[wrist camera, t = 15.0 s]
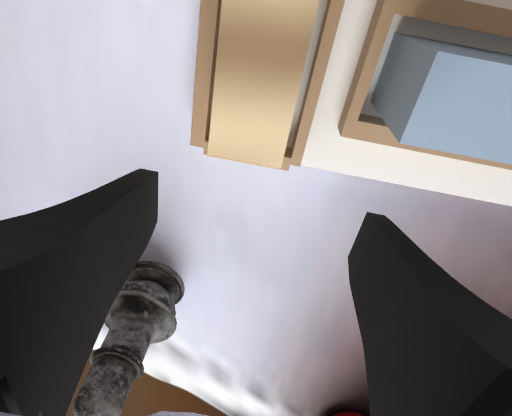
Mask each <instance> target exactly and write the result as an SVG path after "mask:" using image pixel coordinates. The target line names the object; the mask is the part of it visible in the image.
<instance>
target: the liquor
mask: <svg viewBox="0 0 512 416" xmlns="http://www.w3.org/2000/svg"><path fill="white" fill-rule="evenodd" d="M332 416H365V415H363V414H360V413H357V412H351V411H345V412H339V413H336V414H334V415H332Z"/></svg>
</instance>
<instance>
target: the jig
mask: <svg viewBox="0 0 512 416" xmlns="http://www.w3.org/2000/svg"><path fill="white" fill-rule="evenodd" d="M221 4H222V0H201V4H200V18H199V31H198V45H197V59H196V73H195V87H194V101H193V114H192V128H191V142H190V145H192V146H197V147H202V148H204V154H205V155H207V154H208V143H209V133H210V122H211V111H212V100H213V90H214V79H215V68H216V58H217V47H218V36H219V26H220V15H221ZM394 32H397V33H403V34H408V35H413V36H418V37H423V38H428V39H433V40H438V41H444V42H449V43H454V44H459V45H464V46H469V47H474V48H479V49H485V50H490V51H495V52H500V53H505V54H510V55H512V0H319V4H318V9H317V13H316V17H315V22H314V26H313V31H312V35H311V39H310V44H309V48H308V53H307V57H306V61H305V66H304V70H303V75H302V79H301V83H300V88H299V92H298V97H297V101H296V105H295V110H294V114H293V119H292V123H291V127H290V132H289V136H288V141H287V145H286V150H285V154H284V158H283V163H282V167H281V169H282V170H289V166H290V165H295V166H300V165H302V166H307V167H313V168H318V169H323V170H328V171H333V172H338V173H343V174H349V175H354V176H359V177H364V178H369V179H374V180H379V181H385V182H390V183H395V184H400V185H405V186H410V187H415V188H420V189H426V190H431V191H436V192H441V193H446V194H451V195H456V196H462V197H467V198H472V199H477V200H482V201H487V202H492V203H498V204H503V205H508V206H512V165H511V164H506V163H501V162H495V161H490V160H485V159H479V158H474V157H469V156H463V155H458V154H453V153H448V152H442V151H437V150H432V149H426V148H421V147H416V146H411V145H405V144H400V143H399V142H398V141H397V139H396V138H395V136H394V135H393V134H392V132H391V131H390V129H389V128H388V126H387V125H386V123H385V122H384V121H383V119H382V118H381V116H380V115H379V113H378V112H377V110H376V109H375V108H374V106H373V105H372V103H371V99H372V96H373V93H374V90H375V87H376V84H377V82H378V79H379V76H380V73H381V70H382V67H383V64H384V61H385V58H386V56H387V53H388V50H389V47H390V44H391V41H392V38H393V35H394Z"/></svg>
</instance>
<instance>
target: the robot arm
mask: <svg viewBox="0 0 512 416" xmlns="http://www.w3.org/2000/svg"><path fill="white" fill-rule="evenodd" d="M157 215H158V172H156V171H150V170H145V169H138V170H135V171H133V172H131V173H129V174H127V175H125V176H122V177H120V178H118V179H116V180H114V181H112V182H110V183H108V184H106V185H103V186H101V187H99V188H97V189H95V190H93V191H90V192H88V193H85V194H83V195H81V196H78V197H76V198H73V199H71V200H68V201H66V202H63V203H61V204H58V205H55V206H52V207H49V208H46V209H42V210H39V211H36V212H33V213H29V214H26V215H22V216H17V217H13V218H9V219H5V220H1V221H0V416H65V415H66V413H67V410H68V407H69V404H70V402H71V399H72V397H73V394H74V392H75V390H76V387H77V384H78V382H79V380H80V377H81V375H82V372H83V370H84V367H85V365H86V362H87V360H88V358H89V356H90V353H91V351H92V349H93V346H94V344H95V342H96V339H97V337H98V335H99V332H100V330H101V328H102V326H103V324H104V322H105V319H106V317H107V315H108V313H109V311H110V308H111V306H112V304H113V303H114V301H115V299H116V297H117V295H118V293H119V292H120V290H121V288H122V287H123V285H124V283H125V282H126V280H127V279H128V277H129V275H130V274H131V272H132V270H133V269H134V267H135V265H136V264H137V262H138V260H139V258H140V257H141V255H142V253H143V252H144V250H145V248H146V247H147V245H148V243H149V240H150V238H151V236H152V233H153V231H154V228H155V226H156V223H157ZM348 266H349V280H350V286H351V291H352V296H353V301H354V305H355V310H356V314H357V319H358V323H359V328H360V332H361V337H362V342H363V348H364V354H365V363H366V373H367V383H368V395H369V407H370V416H512V319H510V318H509V317H507V316H506V315H504V314H503V313H501V312H499V311H498V310H496V309H495V308H493V307H492V306H490V305H489V304H487V303H486V302H484V301H483V300H482V299H480V298H479V297H477V296H476V295H475V294H473V293H472V292H471V291H469V290H468V289H467V288H465V287H464V286H463V285H461V284H460V283H459V282H458V281H456V280H455V279H454V278H453V277H451V276H450V275H449V274H448V273H447V272H445V271H444V270H443V269H442V268H441V267H440V266H438V265H437V264H436V263H435V262H434V261H433V260H432V259H431V258H430V257H428V256H427V255H426V254H425V253H424V252H423V251H422V250H421V249H420V248H419V247H418V246H417V245H416V244H415V243H414V242H413V241H412V240H411V239H410V238H408V237H407V236H406V235H405V234H404V233H403V232H402V231H401V230H400V229H399V228H398V227H397V226H396V225H395V224H394V223H393V222H392V221H391V220H390V219H388V218H387V217H386V216H384V215H379V214H374V213H369V212H367V213H366V216H365V218H364V221H363V223H362V225H361V228H360V230H359V232H358V235H357V237H356V239H355V242H354V244H353V247H352V249H351V251H350V254H349V256H348ZM148 416H206V415H201V414H195V413H187V412H157V413H154V414H151V415H148Z"/></svg>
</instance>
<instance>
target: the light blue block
mask: <svg viewBox="0 0 512 416" xmlns="http://www.w3.org/2000/svg"><path fill="white" fill-rule="evenodd" d="M371 103H372V105H373V106H374V108H375V109H376V110H377V112H378V113H379V115H380V116H381V118H382V119H383V121H384V122H385V123H386V125H387V126H388V128H389V129H390V131H391V132H392V134H393V135H394V136H395V138H396V139H397V141H398V142H399V143H400V144H405V145H411V146H416V147H421V148H426V149H432V150H437V151H442V152H448V153H453V154H458V155H463V156H469V157H474V158H479V159H485V160H490V161H495V162H501V163H506V164H511V165H512V55H510V54H505V53H500V52H495V51H490V50H485V49H479V48H474V47H469V46H464V45H459V44H454V43H449V42H444V41H438V40H433V39H428V38H423V37H418V36H413V35H408V34H403V33H397V32H394V35H393V38H392V41H391V44H390V47H389V50H388V53H387V56H386V58H385V61H384V64H383V67H382V70H381V73H380V76H379V79H378V82H377V84H376V87H375V90H374V93H373V96H372V99H371Z"/></svg>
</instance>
